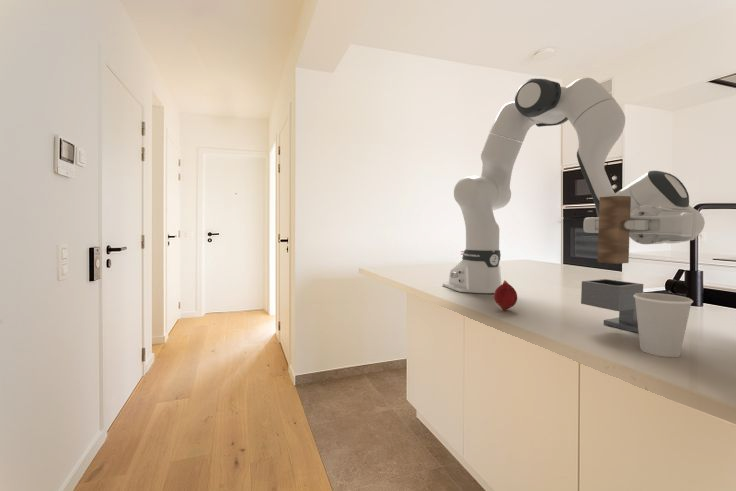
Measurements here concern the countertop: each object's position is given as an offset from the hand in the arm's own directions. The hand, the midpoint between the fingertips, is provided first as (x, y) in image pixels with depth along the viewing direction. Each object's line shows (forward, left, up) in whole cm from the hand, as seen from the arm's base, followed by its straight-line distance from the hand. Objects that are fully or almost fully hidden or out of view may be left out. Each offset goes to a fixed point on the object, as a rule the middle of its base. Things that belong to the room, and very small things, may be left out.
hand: (611, 224), depth 78 cm
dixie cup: (+12, -4, -23) cm, 26 cm away
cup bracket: (0, +4, -23) cm, 23 cm away
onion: (-24, -5, -23) cm, 34 cm away
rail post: (0, +1, -8) cm, 8 cm away
